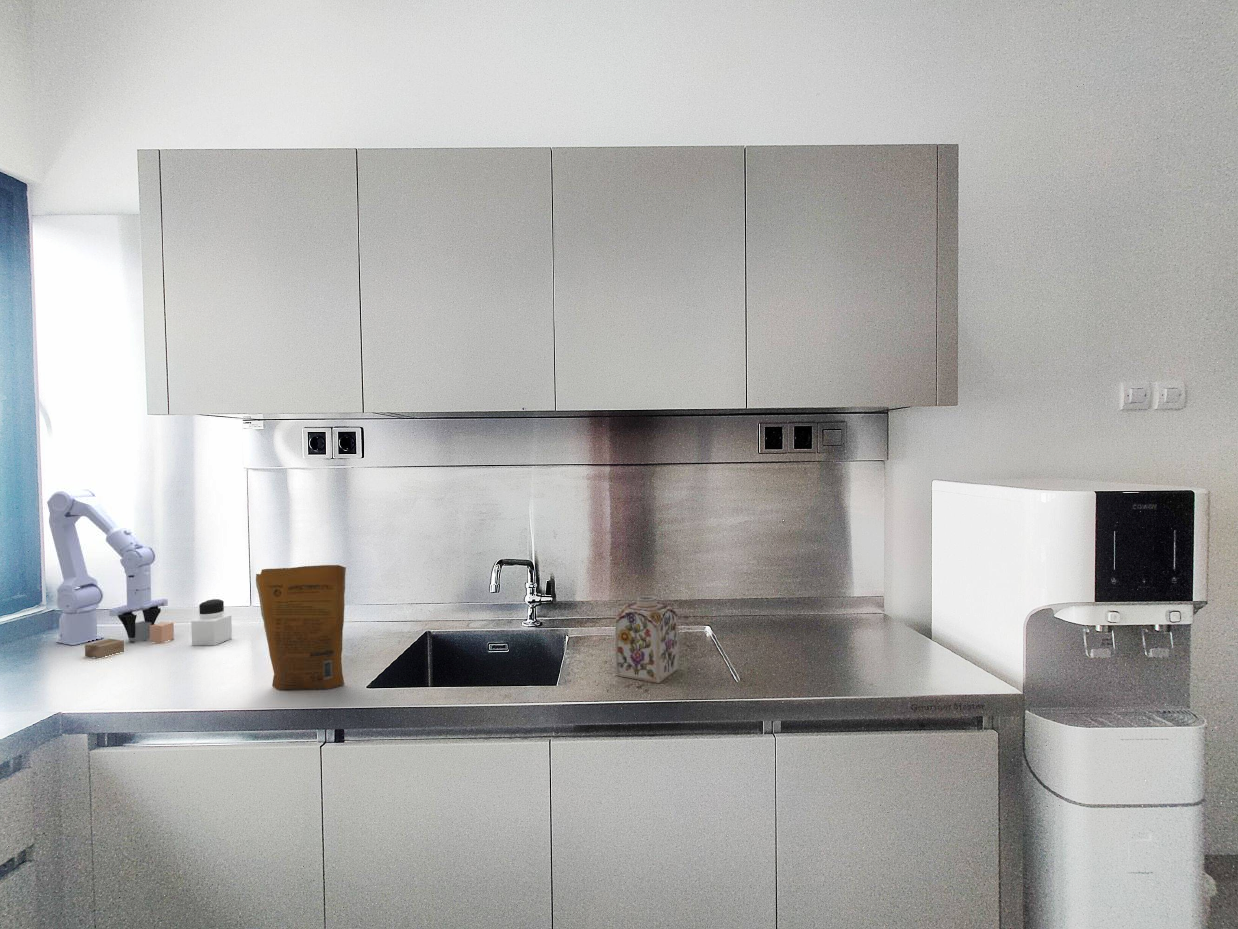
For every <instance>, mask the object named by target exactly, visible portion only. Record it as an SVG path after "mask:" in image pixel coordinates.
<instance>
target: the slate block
mask: <svg viewBox="0 0 1238 929" xmlns="http://www.w3.org/2000/svg"><path fill="white" fill-rule="evenodd" d="M150 626H151V622H146V621H144V620H142V621H135V638H128V642H129V641H134V642H138V643H140V642H139V641H143V642H145V641H144V640H147V641H149V640H148V639H150ZM134 642H133V643H134Z"/></svg>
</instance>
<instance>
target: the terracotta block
mask: <svg viewBox="0 0 1238 929" xmlns="http://www.w3.org/2000/svg"><path fill="white" fill-rule="evenodd" d="M174 624H175V623H174V622H167V621H166V622H163V621H162V622H158V623H154V625H151V626H150V640H149V643H150V642H155V643H154V644H164V643H163V642H165V641H168V640H171V639H174V640H175V633H174V632H175V630H174V626H175V625H174ZM171 641H172V640H171ZM168 642H169V641H168ZM165 643H166V642H165Z"/></svg>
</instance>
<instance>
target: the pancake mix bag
mask: <svg viewBox="0 0 1238 929" xmlns="http://www.w3.org/2000/svg"><path fill="white" fill-rule="evenodd" d="M346 570H347V567H346V566H344V565H343V566H342V565H339V564H322V565H304V566H297V567H296V566H294V567H289V568H288V567H280V568H263V569H261V572H260V573H256V574H255V585H256V589H257V593H258V599H259V605H260V613H261V617H262V621H263V627H264V632H265V636H266V641H267V648H268V653H269V657H270V662H271V666H272V670H273V679H272V685H271V686H272V687H273V688H274V687H275V688H276V690H277V689H278V690H277V691H282V690H283V691H304V690H307V691H309V690H331V689H336V688H338V687H341V686H344V685H345V679H344V674H343V664H342V655H343V654H342V653H343V635H344V634H343V632H344V624H345V594H346V574H347V573H346ZM275 688H274V689H275Z"/></svg>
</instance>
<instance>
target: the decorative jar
mask: <svg viewBox="0 0 1238 929" xmlns="http://www.w3.org/2000/svg"><path fill="white" fill-rule="evenodd" d="M657 600H658V599H657V597H656V596H653V595H645V596H644V595H643V596H638V597H637V598H636V602H630V603H627V604H624V605H623V606H622V607H621V609H620V611H619V613H618V615H617V616H616V618H615V620H614V621H615V625H614V626H615V627H614V628H615V629H614V630H615V631H614V633H615V634H614V648H615V649H614V653H615V654H614V656H615V658H614V659H615V661H614V663H615V676H617V677H621V678H628V679H632V680H638V681H644V682H649V683H653V684H654V683H655V684H660V683H661V682H663V681H665V679H667V678H668V677H670V676H671V675H672V674H674V673H675V672H677V671H678V670H679V667H680V644H679V643H680V642H679V639H680V638H679V615H678V613H677V611H675V609H674V608H673V606H670V605H669V604H667V603H665V602H659V601H657Z"/></svg>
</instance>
